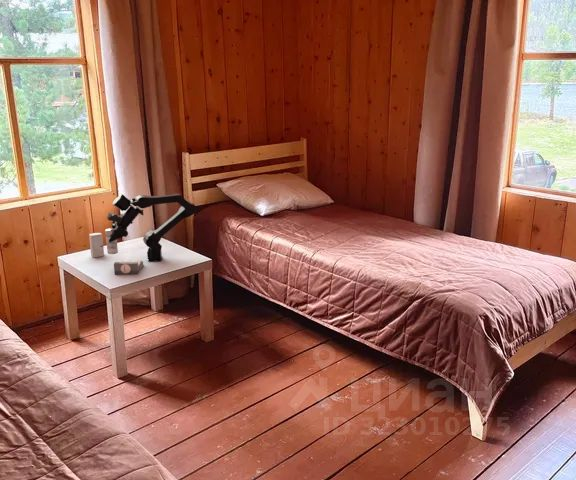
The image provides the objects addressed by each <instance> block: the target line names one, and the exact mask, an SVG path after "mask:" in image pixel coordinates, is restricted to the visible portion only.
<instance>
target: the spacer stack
mask: <svg viewBox="0 0 576 480" xmlns="http://www.w3.org/2000/svg"><path fill="white" fill-rule="evenodd" d="M113 233H114V228H112V227H111V228H106V229H105V230H104V234H105V242H106V250H107V251H106V252H107V254H108V255H116V254H119V249H118V239H117V240H114V241H112V242H109V239H110V238H111V236H112V234H113Z"/></svg>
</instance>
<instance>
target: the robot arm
mask: <svg viewBox="0 0 576 480" xmlns="http://www.w3.org/2000/svg"><path fill="white" fill-rule="evenodd" d="M172 203H178V205H180V207H179V209H178V211H177V212H176V213H175V214H174V215H173V216H171V217H170V218H169V219H168V220H166V221H165V222H164V223H163V224H162V225H161V226H159V227H158V228H157V229H155V230H153V229H149V230H148V231H147V232H146V233H144V236H143V238H142V241H143V243H144V244H145V246H146V247H148V248H147V252H146V253H147V254H146V257H147V259H148V260H147V262H161V261H162V259H163V253H162V248H163V247H162V245H161V244H160V243H159V242H160V241H161V240H162V237H163V236H165V234H167V233H168V232H169V231H171V230H172V229H173V228H174V227H176V226H177V225H178V224H179V223H181V221H183V220H184V219H187V218H191V216H193V215H195V214H196V213H197V206H196V205H195V204H194V203H192V202H191V201H187V200H186V199H185V197H183V196H182V195H181V194H179V193H173V194H163V195H154V196H153V195H147V194H146V195H144V194H139V195H137V196H136V197H133V198H127V197H126V196H125V194H123V193H121V194H120V195H118V196H117V197H115V198H114V200H113V202H112V205H113V206H114V207H116V208H117V209H118V210H120V211H121V212H124V213H121V214H120V215H119V214H116V213H115V212H114V213H113V212H111V211H109V212H108V214H107V217H106V219H107V220H108V221H110V222H111V228H114V233H113V234H112V236H111V238H110V239H109V242H112V241H114V240H117V241H118V239H121V238H123V237H124V238H127V237H128V236H129V231H128V227H130V225H132V224H133V223H134V221H135V219H136V218H137V217H138V216H139V215H141V216H144V209H146V208H150V207H152V206H155V205H163V204H172Z"/></svg>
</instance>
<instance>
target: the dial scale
mask: <svg viewBox="0 0 576 480" xmlns="http://www.w3.org/2000/svg"><path fill="white" fill-rule="evenodd" d="M143 267H144V261H142V259H127V260H126V259H122V260H120V261H116V262H114V263H113V271H114V275H115V276H118V275H119V276H120V275H121V276H122V275H125V276H126V275H138V274H139V273H140V272H141V270H142V269H143Z"/></svg>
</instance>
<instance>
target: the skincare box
mask: <svg viewBox="0 0 576 480" xmlns="http://www.w3.org/2000/svg"><path fill="white" fill-rule="evenodd" d="M88 236H89V247H90V248H89V249H90V256H91V257H92V258H98V257H103V256H105V250H104V249H105V248H104V239H103V234H102V233H101V232H94V233H88Z"/></svg>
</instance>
